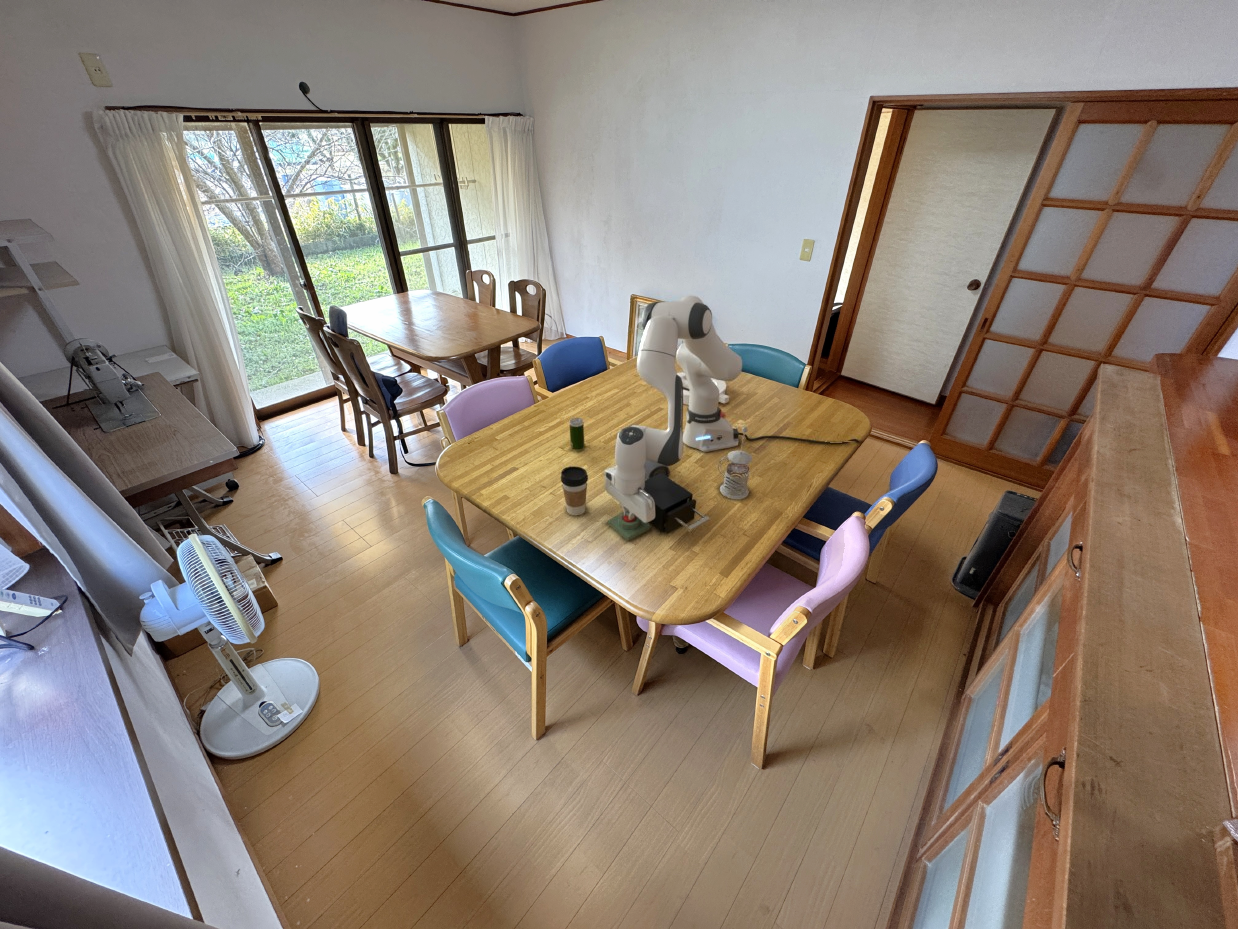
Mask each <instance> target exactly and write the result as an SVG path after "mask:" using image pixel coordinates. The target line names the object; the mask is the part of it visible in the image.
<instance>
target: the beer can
mask: <svg viewBox="0 0 1238 929" xmlns="http://www.w3.org/2000/svg"><path fill="white" fill-rule="evenodd" d="M568 426H569V441H570V448H571V451H575V452H580V451H583V450H584V448H585V425H584V420H583V419H582V418H581V417H573V418H570V419H569V425H568Z"/></svg>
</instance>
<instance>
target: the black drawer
mask: <svg viewBox="0 0 1238 929" xmlns="http://www.w3.org/2000/svg"><path fill="white" fill-rule="evenodd" d="M696 506H697V500H696V499H695V498H692V500H691V501H689V498H688V499H686V500H684V501H683V502H681V503H679V504H677V505H675V506H673V507H671V508H669V509H667V510H665V512H664V525H663V527H665V531H664V532H665V533H666V534H670V533H672V532H673V531H675V530H677V529H679V528H681V527H684V528H686V531H687V532H689V533H690V532H692V531H694V530H696V529H697V528H699V527H700V526H702V525H704V524H706V523H708V522H709V521H710V517H709V516H708V515H704V514H702V513H701V512H700V511H698V510H696ZM696 515H698V516H699V517H700V519H697V521H694V522H693V523H691V524H690V525H688V523H690V522H691V521H693V520H695V516H696Z"/></svg>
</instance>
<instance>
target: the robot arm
mask: <svg viewBox="0 0 1238 929" xmlns="http://www.w3.org/2000/svg"><path fill="white" fill-rule="evenodd" d="M641 326H642V329H643V333H642V336H641V339H640V343H639V347H638V351H637V358H636V371H637V373H638V375H639V377H640V378H641V379H642V381H644V382H645V383H646V384H648V385H649V386H651V387H652V388H654V389H656V390H657V391H659V392H660V393H662V394H663V395H664V397H665V398H666V400H667V402H668V403H667V405H668V406H667V410H668V411H667V429H659V428H654V427H648V426H644V425H638V424H631V425H629V426H626V427H624V428H622V429H620V430H619V431H618V433H617V436H616V437H617V438H616V441H615V448H614V463H615V465H614V466H610V467H609V468H606V469H605V470H604V473H603V474H604V490H605V492H606V493H607V494H608V495H609V496H611V497H612V498H613V499H614V500H616V501H617V502H618V503H619V504H620V505H621V508H622V511H623V512H624V516H626V517H627V518H628V519H629V520H632V519H633V518H634V515H636V516H637V517H638V518H639V519H641V520H642V521H643V522H644V523H648V522H649V521H651V520H653V519H654V518H655V503H654V500H653V498H652V497H651V495H650V494H648V493H646V492H645V491H644V490H643V489H644V487H645V480H646V479H645V468H644V465H645V462H646V460H648V461H653V462H657V463H659V464H662V465H666V466H668V467H671V466H673V465H675V464H677V463H679V462H680V461H681V459H682V457H683V454H684V445H686V446H688V447H690V448H693V449H698V450H699V451H701V452H704V453H707V452H708V453H709V452H713V451H719V450H723V449H729V448H734V447H738V445H739V436H741V437H743V435H744V438H745V439H746V441H749V442H752V441H753V442H754V441H759V440H762V439H783V440H792V441H799V442H806V443H814V444H823V445H824V444H825V445H845V444H849V443H850V442H844V441H841V442H842V443H830V442H831V441H827V442H825V441H824V440H815V439H807V438H799V437H794V436H793V437H792V436H786V435H785V436H784V435H761V436H758V437H753V438H750V437H749V436H748V434H746V433H744V432H739V430H738V428H736V427H735V428H733V425H732V424H731V423H730V422H729V420H728V419H726V416H727V414H726V413H725V411H723V410H722V409H721V407H719V402H718V401H719V389H718V387H717V386H716V385H715V383H714V382H713V381H712V379H711V378H713V379H716V380H721V381H724V382H733V381H735V380H736V379H737V378H738V377H739V376H740V374H741V372H742V370H743V360H742V357H741V355H739V354H737V353H736V352H735V351H733V350H732V349H731V348H730V347H729V346H728V345H727V344H726V343H725V342H724V340H722V338H721V337H720V335H718V333H717V331H716V328H715V325H714V323H713V313H712V310H711V308H710V307H709V306H708V305H707V304H705V303H704V302H703V300H702V299H701V298H700V297H698V296H696V295H686V296H684V297H682V298H680V299H679V300H676V301H654V302H650V303H648V304H647V305H646V306H645V308H644V309H643V311H642V313H641ZM679 340H682V343H681V344H680V345H679V347H678V343H679ZM676 363H677V365H678V366H679V367H680V368H681V369H682V372H684V373H685V375H686V377H687V380H688V383H689V389H688V390H689V391H690V396H689V405H687V407H686V408H687V409H686V415H685V418H686V423H685V427H684V426H683V424H684V422H683V421H684V404H683V390H684V387H683V383H682V379H681V377H680V376H678V375H677V373H678V372H677V370H676ZM683 428H684V429H683ZM847 441H852V442H856V443H858V444H859V443H860V441H859V439H857V438H851V439H847Z"/></svg>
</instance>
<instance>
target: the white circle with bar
mask: <svg viewBox="0 0 1238 929" xmlns="http://www.w3.org/2000/svg"><path fill="white" fill-rule="evenodd" d="M676 373H677V375H678V376H680V377H681V379H682V383H683V388H684V389H683V405H686V406H689V396H690V389H689V383H688V380H687V377H686V375H685V373H684V371H680V372H676ZM711 379H712V381H713V382H714V383H715V385H716V386H717V387H718V389H719V401H718V403H721V404H723V405H724V404H726V403H729V400H730V396H729V395H727V394H726V390H727V383H726V381H721V380H716V379H713V378H711Z"/></svg>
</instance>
